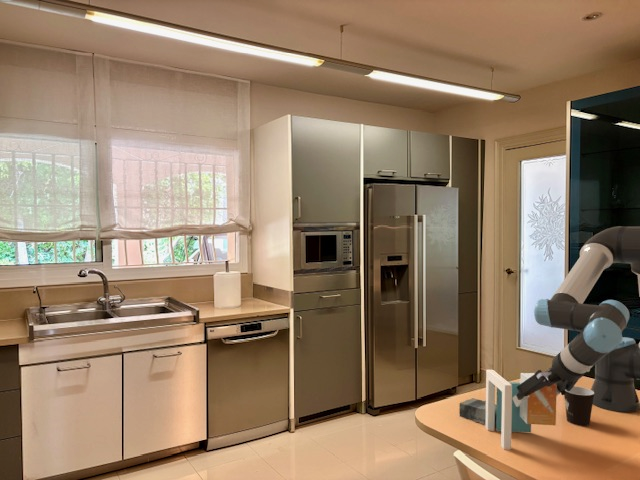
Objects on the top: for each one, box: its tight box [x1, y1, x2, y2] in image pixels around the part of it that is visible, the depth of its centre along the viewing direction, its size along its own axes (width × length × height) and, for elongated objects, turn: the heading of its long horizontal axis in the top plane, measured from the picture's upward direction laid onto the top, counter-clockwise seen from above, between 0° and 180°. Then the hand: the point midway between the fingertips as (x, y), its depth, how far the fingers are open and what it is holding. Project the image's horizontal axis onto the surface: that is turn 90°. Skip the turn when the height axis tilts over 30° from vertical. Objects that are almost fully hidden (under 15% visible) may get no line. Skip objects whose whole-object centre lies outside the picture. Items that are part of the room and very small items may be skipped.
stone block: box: [458, 398, 497, 429], centre depth 154 cm, size 9×14×5 cm, turn 40°
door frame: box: [484, 369, 512, 451], centre depth 141 cm, size 2×14×18 cm, turn 0°
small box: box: [519, 372, 558, 426], centre depth 139 cm, size 8×6×13 cm
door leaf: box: [495, 381, 532, 433], centre depth 144 cm, size 2×10×14 cm, turn 85°
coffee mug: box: [563, 385, 594, 427], centre depth 154 cm, size 12×9×10 cm
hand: (530, 401), depth 142 cm, fingers closed on small box, 9 cm apart
